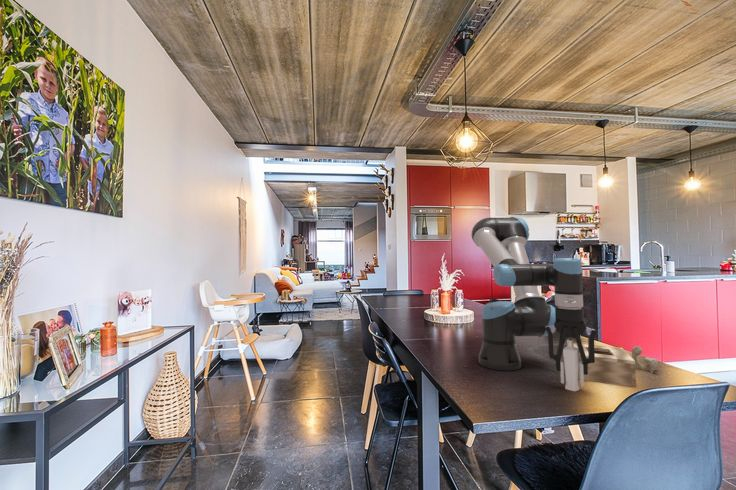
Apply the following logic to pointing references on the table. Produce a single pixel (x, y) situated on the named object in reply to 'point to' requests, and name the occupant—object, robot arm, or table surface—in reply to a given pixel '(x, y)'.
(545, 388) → the table surface
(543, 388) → the table surface
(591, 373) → the holder box
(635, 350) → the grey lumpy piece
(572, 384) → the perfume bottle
